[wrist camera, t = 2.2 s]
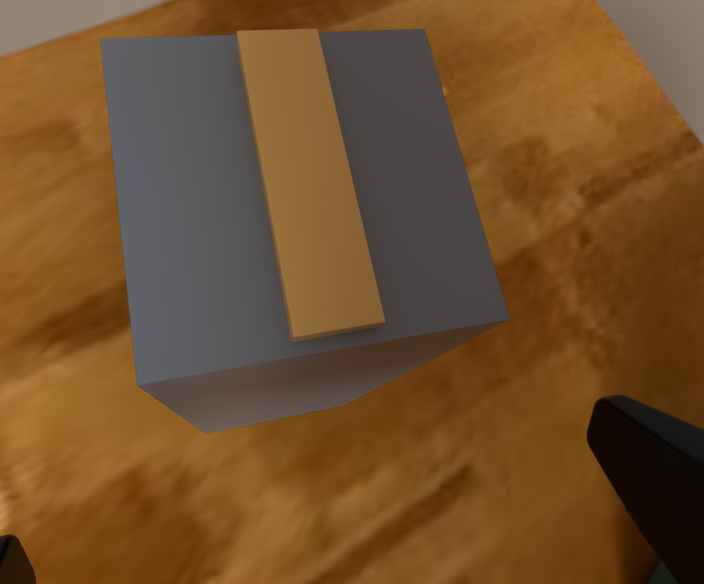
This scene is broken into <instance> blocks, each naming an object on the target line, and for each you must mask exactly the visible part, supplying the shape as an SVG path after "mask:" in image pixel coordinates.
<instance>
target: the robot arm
mask: <svg viewBox="0 0 704 584" xmlns="http://www.w3.org/2000/svg"><path fill="white" fill-rule="evenodd" d="M587 441H588V444H589V447H590V449H591V451H592V452H593V454H594V456H595V457H596V459H597V461H598V463H599V464H600V466H601V468H602V469H603V471H604V473H605V474H606V476H607V478H608V479H609V481H610V483H611V485H612V486H613V488H614V490H615V491H616V493H617V495H618V496H619V498H620V500H621V501H622V503H623V505H624V506H625V508H626V510H627V512H628V513H629V515H630V516H631V518H632V520H633V521H634V523H635V524H636V526H637V528H638V529H639V531H640V532H641V533H642V535H643V536H644V538H645V539H646V541H647V542H648V544H649V545H650V546H651V548H652V549H653V550H654V552H655V553H656V555H657V556H658V557H659V559H660V560H661V562H662V563H663V564H664V566H665V567H666V568H667V570H668V571H669V573H670V574H671V575H672V577H673V578H674V580H675V581H676V582H677V584H704V430H703V429H701V428H699V427H696V426H694V425H692V424H689V423H687V422H685V421H682V420H680V419H678V418H675V417H673V416H671V415H668V414H666V413H664V412H661V411H659V410H657V409H654V408H652V407H650V406H647V405H645V404H643V403H640V402H638V401H636V400H633V399H631V398H629V397H626V396H624V395H613V396H608V397H604V398H600V399H598V401H597V402H596V403H595V405H594V409H593V412H592V416H591V419H590V423H589V427H588V430H587ZM0 584H36V577H35V572H34V570H33V567H32V565H31V563H30V561H29V559H28V557H27V555H26V553H25V551H24V549H23V547H22V545H21V543H20V541H19V539H18V538H17V537H16V536H15V535H9V534H8V535H4V536H0Z"/></svg>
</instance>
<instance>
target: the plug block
mask: <svg viewBox="0 0 704 584" xmlns="http://www.w3.org/2000/svg"><path fill="white" fill-rule="evenodd" d="M100 43H101V53H102V62H103V71H104V80H105V90H106V99H107V108H108V118H109V127H110V136H111V145H112V155H113V164H114V173H115V183H116V192H117V201H118V210H119V220H120V229H121V238H122V248H123V257H124V266H125V275H126V285H127V294H128V303H129V313H130V322H131V331H132V340H133V350H134V359H135V368H136V378H137V385H138V386H139V387H141V388H142V389H143V390H145V391H146V392H148V393H149V394H150V395H152V396H153V397H155V398H156V399H157V400H159V401H160V402H162V403H163V404H164V405H166V406H167V407H169V408H170V409H171V410H173V411H174V412H176V413H177V414H178V415H180V416H181V417H183V418H184V419H185V420H187V421H188V422H190V423H191V424H192V425H194V426H195V427H197V428H198V429H200V430H201V431H202V432H204V433H205V434H208V433H212V432H217V431H222V430H227V429H232V428H237V427H242V426H247V425H252V424H256V423H261V422H266V421H271V420H276V419H281V418H286V417H291V416H295V415H300V414H305V413H310V412H315V411H320V410H325V409H330V408H335V407H339V406H344V405H346V404H348V403H350V402H352V401H354V400H356V399H358V398H360V397H362V396H364V395H366V394H367V393H369V392H371V391H373V390H375V389H377V388H379V387H381V386H383V385H385V384H387V383H388V382H390V381H392V380H394V379H396V378H398V377H400V376H402V375H404V374H406V373H407V372H409V371H411V370H413V369H415V368H417V367H419V366H421V365H423V364H425V363H427V362H428V361H430V360H432V359H434V358H436V357H438V356H440V355H442V354H444V353H446V352H448V351H449V350H451V349H453V348H455V347H457V346H459V345H461V344H463V343H465V342H467V341H469V340H470V339H472V338H474V337H476V336H478V335H480V334H482V333H484V332H486V331H488V330H490V329H491V328H493V327H495V326H497V325H499V324H501V323H503V322H505V321H507V320H509V319H510V318H509V315H508V312H507V308H506V305H505V301H504V298H503V295H502V291H501V288H500V284H499V281H498V278H497V274H496V271H495V267H494V264H493V261H492V257H491V254H490V250H489V247H488V244H487V240H486V237H485V233H484V230H483V227H482V223H481V220H480V216H479V213H478V210H477V206H476V203H475V199H474V196H473V193H472V189H471V186H470V182H469V179H468V176H467V172H466V169H465V165H464V162H463V159H462V155H461V152H460V148H459V145H458V142H457V138H456V135H455V131H454V128H453V125H452V121H451V118H450V114H449V111H448V107H447V104H446V101H445V97H444V94H443V90H442V87H441V84H440V80H439V77H438V73H437V70H436V67H435V63H434V60H433V56H432V53H431V50H430V46H429V43H428V39H427V36H426V33H425V29H417V30H383V31H348V32H318V30H317V29H285V30H248V31H237V35H210V36H175V37H141V38H106V39H100Z"/></svg>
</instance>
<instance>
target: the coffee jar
mask: <svg viewBox="0 0 704 584" xmlns="http://www.w3.org/2000/svg"><path fill="white" fill-rule="evenodd" d="M647 584H677V582H676V581H675V580H674V578H673V577H672V575H671V574H670V573H669V571H668V570H667V568H666V567H665V566H664V564H663V563H662V562H661V561H660V562H659V564H658V565H657V567H656V569H655V570H654V572H653V574H652V575H651V577H650V579H649V580H648V582H647Z"/></svg>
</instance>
